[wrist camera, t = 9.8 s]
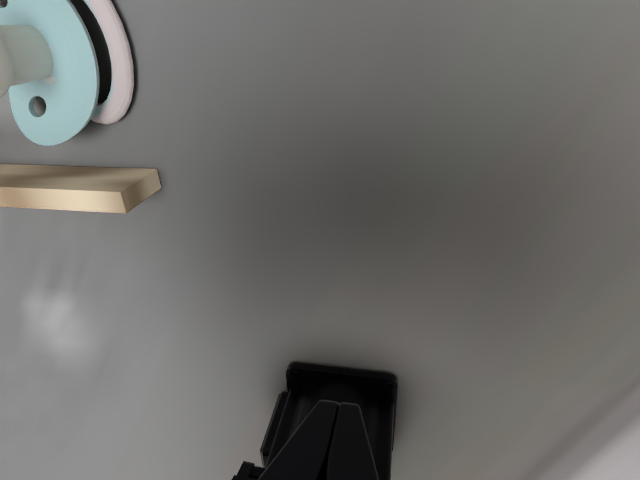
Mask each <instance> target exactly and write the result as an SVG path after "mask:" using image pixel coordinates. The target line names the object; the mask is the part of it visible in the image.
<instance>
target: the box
mask: <svg viewBox="0 0 640 480" xmlns="http://www.w3.org/2000/svg"><path fill="white" fill-rule="evenodd" d="M159 189H161V184H160V180H159V176H158V171H157V169H145V168H113V167H82V166H50V165H19V164H0V207H18V208H36V209H55V210H74V211H92V212H111V213H127V212H129V211H130V210H132V209H133V208H134V207H136V206H137V205H139V204H140V203H141V202H143V201H144V200H145V199H147V198H148V197H150V196H151V195H152V194H154V193H155V192H157V191H158V190H159Z"/></svg>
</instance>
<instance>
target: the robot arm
mask: <svg viewBox="0 0 640 480" xmlns="http://www.w3.org/2000/svg"><path fill="white" fill-rule="evenodd" d="M293 371H295V372H293ZM296 372H297V373H296ZM286 378H287V388H288V392H284V391H283V392H282V393H280V394H279V397H278V399H277V402H276V405H275V408H274V411H273V414H272V417H271V420H270V423H269V426H268V429H267V431H266V434H265V437H264V440H263V443H262V446H261V449H260V454H261V460H262V466H263V468H262V467H257V466H254V463H250V462H246V461H244V462H243V464H242V466H241V468H240V470H239V472H238V474H237V476H236V475H234V477H233V479H232V480H391V459H392V451H393V442H394V428H395V415H396V401H397V388H398V380H397V378H396V377H395V376H393V375H390V374H382V373H374V372H365V371H357V370H348V369H340V368H331V367H322V366H314V365H305V364H297V363H292V364H290V365H289V366H288V368H287V371H286ZM388 383H391V384H388Z"/></svg>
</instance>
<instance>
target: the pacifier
mask: <svg viewBox="0 0 640 480" xmlns="http://www.w3.org/2000/svg"><path fill="white" fill-rule="evenodd" d="M7 1H8V4H7V6H6V7H3V6H1V5H0V98H1V97H2V96H3V95H4V94H5V93H6V92H7V91H8V90H9V99H10V104H11V109H12V112H13V115H14V118H15V121H16V123H17V124H18V126H19V128H20V130H21V131H22V132H23V133H24V135H25V136H26V137H27V138H28V139H30V140H31V141H32V142H35V143H37V144H40V145H45V146H47V145H56V144H60V143H63V142H65V141H67V140H69V139H70V138H72V137H74V136H75V135H76V134H78V133H79V132H80V131H81V130H82V129H83V128H84V127H85V126H86V125H87V124H88V122H89V121H90V120H92V121H94V122H97V123H102V124H110V123H114V122H117V121H118V120H119V119H121V118H122V117H123V116H124V115H125V113H126V111H127V109H128V107H129V105H130V103H131V100H132V94H133V88H134V67H133V61H132V55H131V50H130V45H129V42H128V39H127V36H126V33H125V30H124V27H123V24H122V22H121V19H120V17H119V15H118V13H117V11H116V9H115V7H114V5H113V3H112V1H111V0H84V1H85V2H86V4H87V5H88V7H89V8H90V10H91V11H92V13H93V14H94V16H95V18H96V19H97V21H98V23H99V25H100V27H101V29H102V32H103V34H104V37H105V40H106V43H107V46H108V50H109V55H110V59H111V67H112V82H111V90H110V92H109V95H108V97H107V99H106V100H105V102H104V103H103V104H100V103H97V101H98V95H99V67H98V62H97V57H96V53H95V50H94V46H93V43H92V41H91V38H90V35H89V33H88V30H87V28H86V26H85V24H84V22H83V21H82V19H81V17H80V15H79V14H78V12H77V10H76V9H75V7H74V6H73V4H72V3H71V2H70V0H7ZM37 96H40V97H42V98H43V99H44V101H45V103H46V111H45V113H44V114H43V115H42V116H40V115H38V114H37V113H36V112H35V110H34V106H33V105H34V100H35V98H36V97H37Z"/></svg>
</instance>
